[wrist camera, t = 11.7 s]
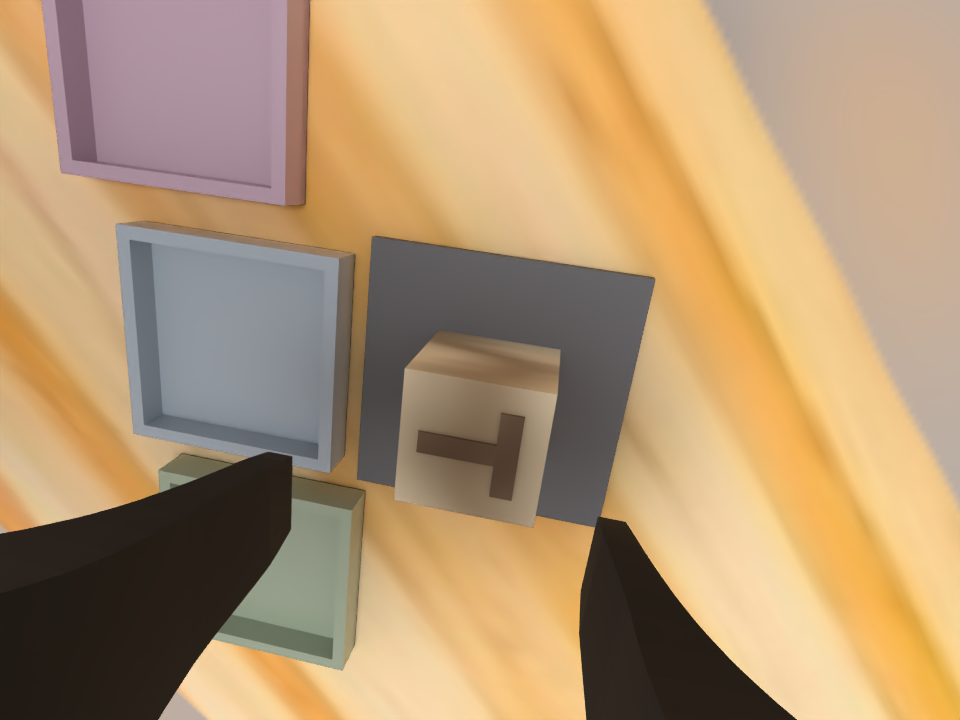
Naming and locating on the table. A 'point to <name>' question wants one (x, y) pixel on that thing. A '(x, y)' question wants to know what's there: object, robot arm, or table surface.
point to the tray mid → (237, 341)
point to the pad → (517, 318)
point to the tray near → (183, 94)
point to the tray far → (298, 573)
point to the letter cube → (477, 426)
